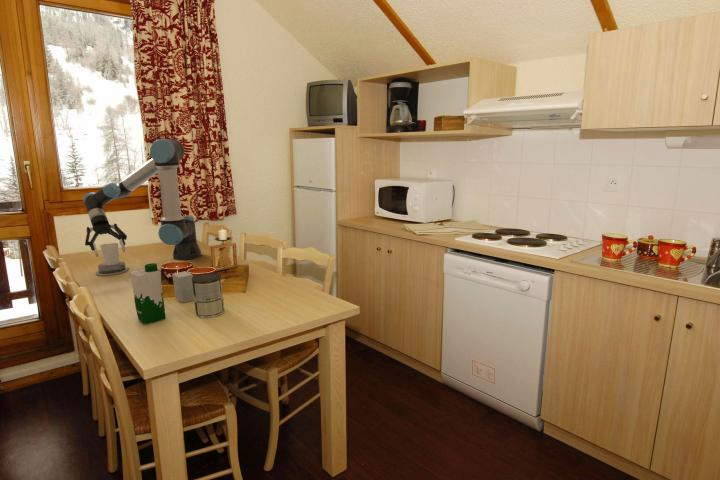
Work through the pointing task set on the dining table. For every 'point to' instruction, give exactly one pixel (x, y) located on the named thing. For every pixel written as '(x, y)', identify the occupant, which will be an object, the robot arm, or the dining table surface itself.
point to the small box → (183, 286)
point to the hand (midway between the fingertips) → (111, 252)
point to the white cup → (110, 253)
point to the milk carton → (148, 294)
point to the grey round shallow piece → (111, 269)
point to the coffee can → (208, 295)
